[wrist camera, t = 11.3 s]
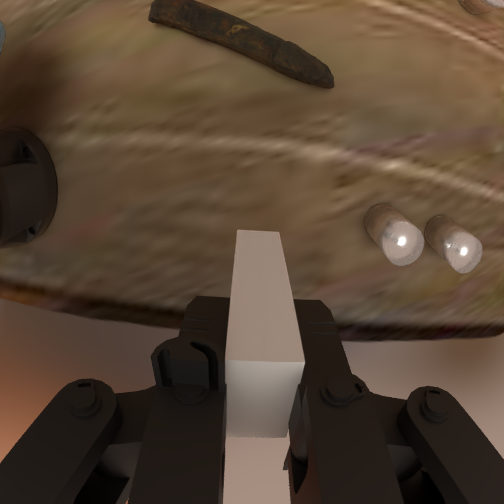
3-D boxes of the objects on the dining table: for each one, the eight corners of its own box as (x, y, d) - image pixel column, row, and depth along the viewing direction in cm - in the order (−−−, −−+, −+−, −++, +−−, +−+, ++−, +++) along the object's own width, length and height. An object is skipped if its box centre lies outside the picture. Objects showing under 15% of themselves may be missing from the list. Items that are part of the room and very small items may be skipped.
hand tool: (153, 25, 26) (138, 14, 22) (174, -5, 24) (161, -20, 20) (314, 109, 29) (323, 109, 25) (335, 78, 28) (347, 73, 24)
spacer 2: (420, 244, 35) (447, 271, 28) (429, 212, 33) (460, 235, 27) (445, 248, 35) (474, 274, 28) (455, 218, 33) (486, 240, 27)
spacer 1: (360, 235, 34) (381, 263, 28) (368, 200, 33) (392, 222, 26) (392, 239, 35) (416, 267, 28) (400, 206, 33) (428, 229, 27)
